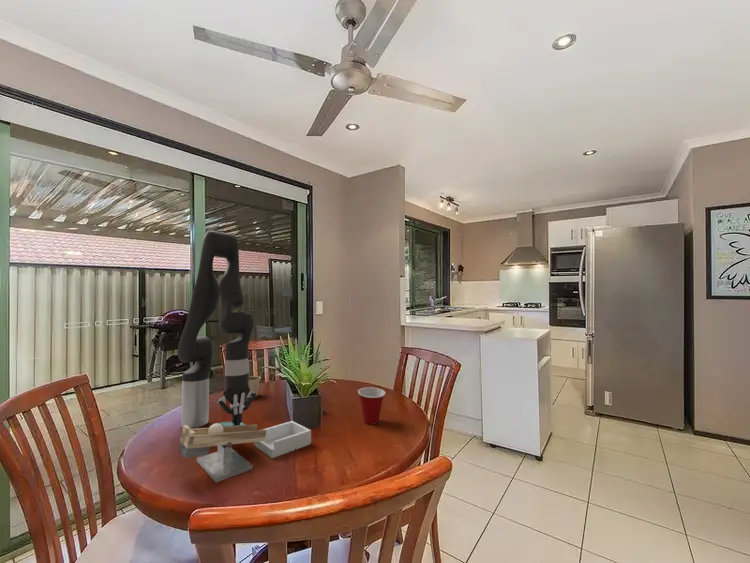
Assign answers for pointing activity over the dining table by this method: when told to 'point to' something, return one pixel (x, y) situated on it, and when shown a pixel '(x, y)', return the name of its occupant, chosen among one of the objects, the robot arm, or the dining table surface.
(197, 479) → the dining table surface
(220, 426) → the ball
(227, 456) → the lever stand
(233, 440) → the lever
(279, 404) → the dining table surface
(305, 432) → the tray
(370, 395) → the plastic cup
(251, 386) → the flower pot
